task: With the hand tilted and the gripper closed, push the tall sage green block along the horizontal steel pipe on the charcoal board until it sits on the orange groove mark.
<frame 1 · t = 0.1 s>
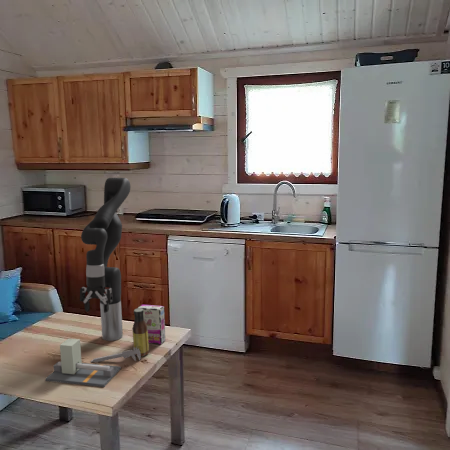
hand: (96, 311, 192), 17 cm above the table, tool pointing down, fingers open, 8 cm apart
pipe rig: (84, 374, 174), on the table
candy bar box: (152, 341, 203), on the table
sauce bottle: (141, 354, 191), on the table
caliper: (115, 361, 185), on the table
sage green block: (71, 356, 173), point 7 cm above the table, slide at -5.0 cm
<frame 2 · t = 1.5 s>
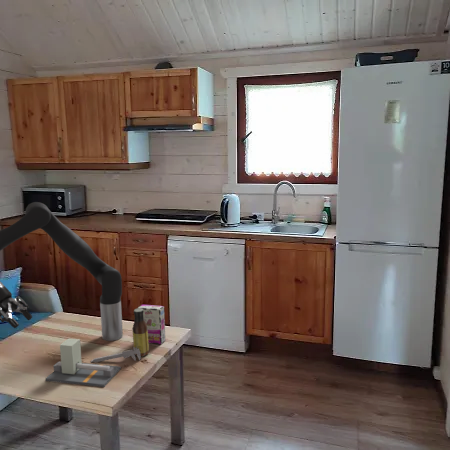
hand: (24, 322, 175), 20 cm above the table, tool tilted 45°, fingers open, 8 cm apart
nothing on the table moved.
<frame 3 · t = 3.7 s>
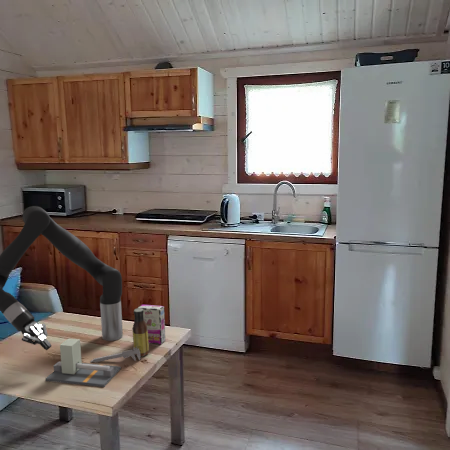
hand: (49, 348, 175), 10 cm above the table, tool tilted 45°, fingers closed
nothing on the table moved.
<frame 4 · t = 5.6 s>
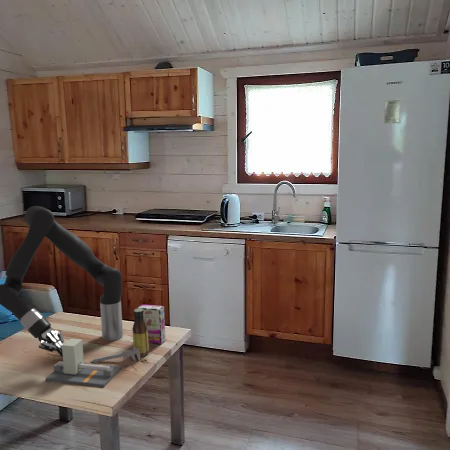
hand: (66, 355, 174), 7 cm above the table, tool tilted 45°, fingers closed
sage green block: (73, 356, 173), point 7 cm above the table, slide at -4.1 cm, touching gripper
everything else where it was.
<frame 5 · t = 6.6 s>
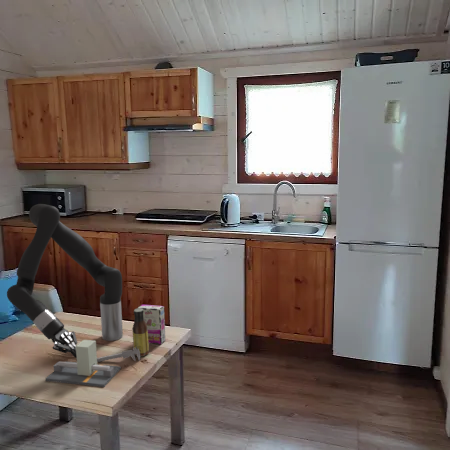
hand: (79, 356, 173), 7 cm above the table, tool tilted 45°, fingers closed
sage green block: (86, 357, 172), point 7 cm above the table, slide at 1.7 cm, touching gripper
everything else where it was.
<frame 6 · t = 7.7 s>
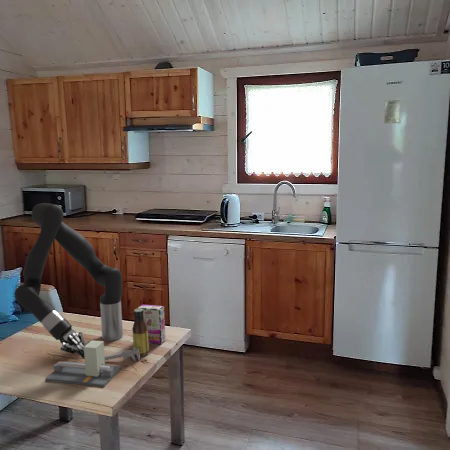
hand: (87, 357, 172), 7 cm above the table, tool tilted 45°, fingers closed
sage green block: (94, 358, 171), point 7 cm above the table, slide at 5.0 cm, touching gripper
everything else where it was.
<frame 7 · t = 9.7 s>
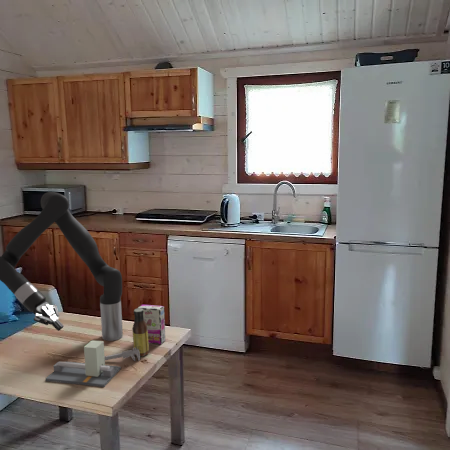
hand: (61, 328, 173), 18 cm above the table, tool tilted 45°, fingers closed
sage green block: (94, 358, 171), point 7 cm above the table, slide at 5.0 cm
everything else where it was.
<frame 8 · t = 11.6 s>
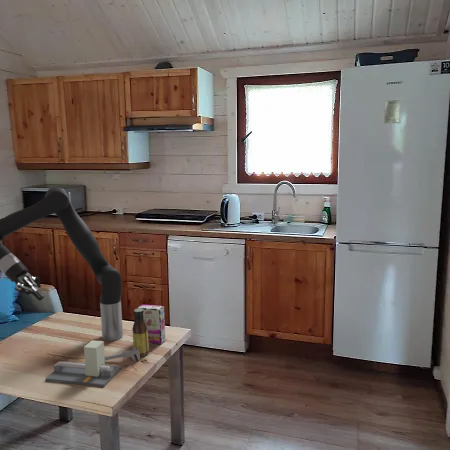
hand: (42, 298, 178), 28 cm above the table, tool tilted 45°, fingers closed
nothing on the table moved.
at the end: sage green block slide at 5.0 cm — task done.
